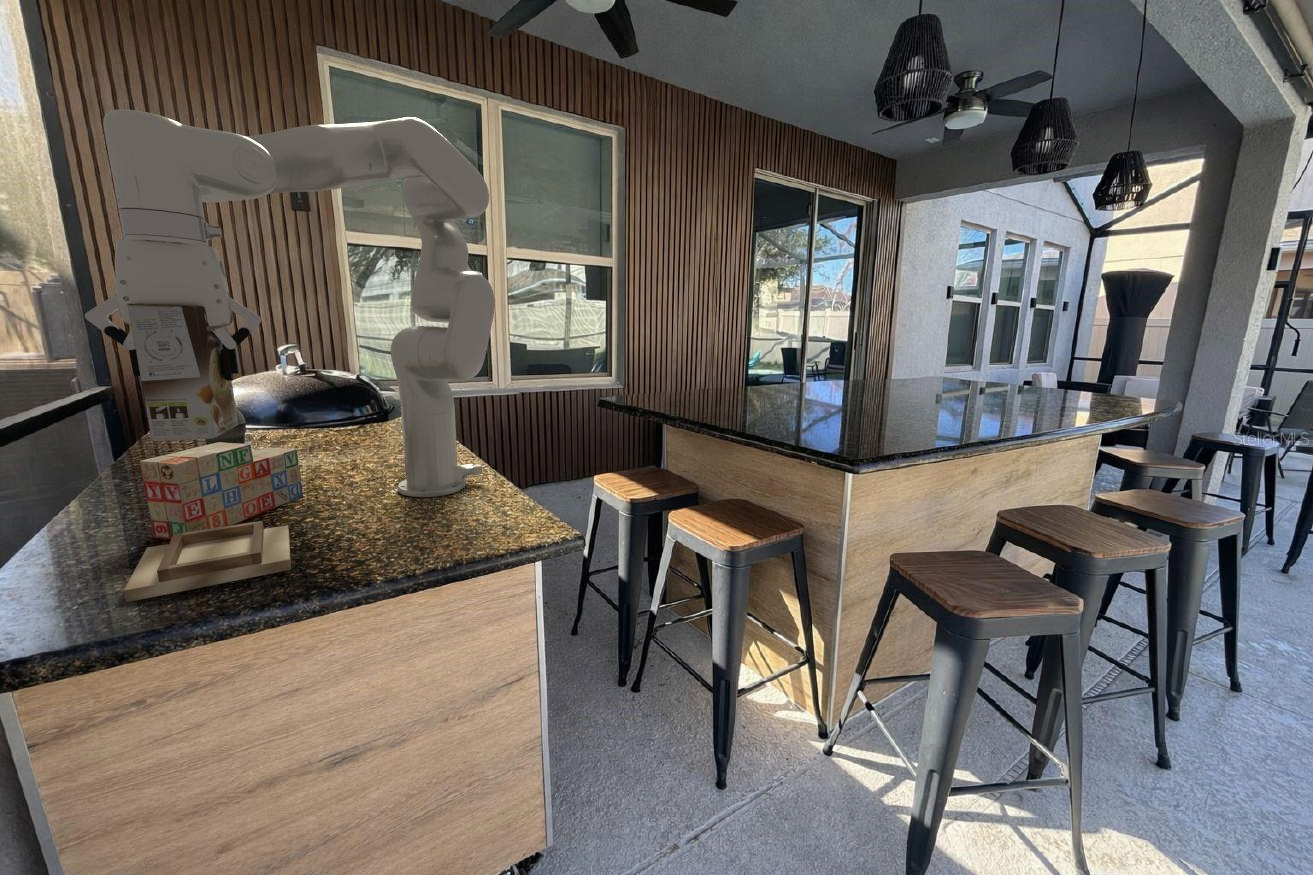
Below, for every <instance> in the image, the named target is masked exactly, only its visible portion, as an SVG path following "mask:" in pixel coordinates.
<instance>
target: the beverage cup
mask: <svg viewBox="0 0 1313 875" xmlns="http://www.w3.org/2000/svg"><path fill="white" fill-rule="evenodd" d="M236 414H237V421H238V425H237V426H235V427H234V428H232V429H230V430H228V431H226V432H224V433H223V434H221V435H219V436H217V437H215V438H212V439H204V440H205V445H209V444H213V443H218V442H223V443H238V444H246V435H245V434H247V433H246V432H247V425H248V424H247V421H246V419H245V416H244V414H243V413H242V412H241V411H240V410H239V409H238V408H236Z"/></svg>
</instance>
